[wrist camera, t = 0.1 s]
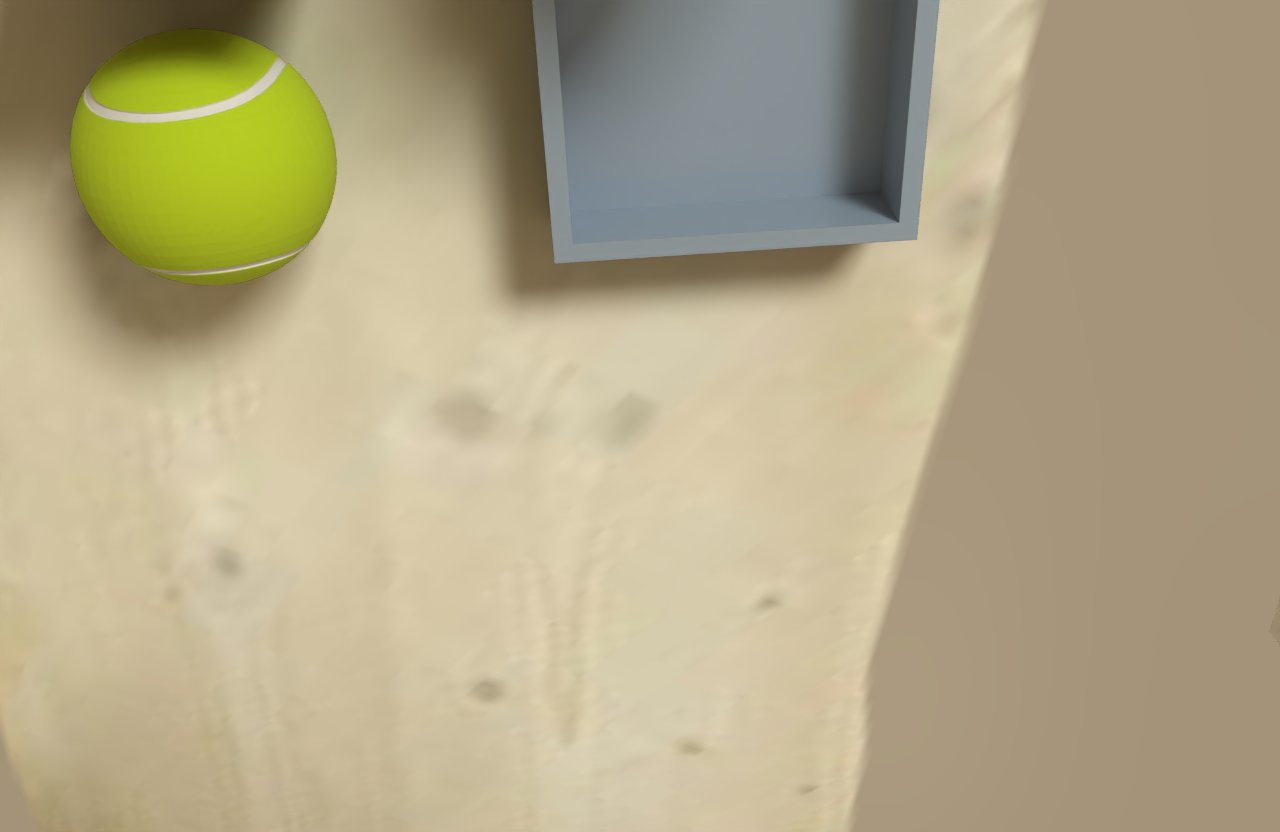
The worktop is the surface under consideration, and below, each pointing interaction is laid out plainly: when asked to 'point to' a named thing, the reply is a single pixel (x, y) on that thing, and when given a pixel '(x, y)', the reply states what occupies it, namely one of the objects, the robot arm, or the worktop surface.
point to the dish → (732, 123)
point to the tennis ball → (203, 156)
